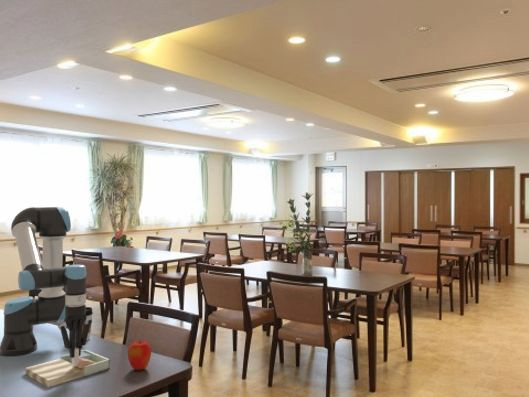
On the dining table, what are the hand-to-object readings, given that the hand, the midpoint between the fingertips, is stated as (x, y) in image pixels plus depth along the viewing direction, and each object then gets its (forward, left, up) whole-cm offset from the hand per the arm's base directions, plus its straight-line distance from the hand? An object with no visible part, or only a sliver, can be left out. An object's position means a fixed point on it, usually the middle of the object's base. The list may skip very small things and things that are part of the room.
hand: (75, 364), depth 180 cm
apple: (+15, +19, -4) cm, 25 cm away
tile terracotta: (0, +3, -2) cm, 4 cm away
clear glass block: (-10, +7, -3) cm, 13 cm away
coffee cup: (-39, +25, -4) cm, 46 cm away
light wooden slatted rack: (-5, -6, -4) cm, 8 cm away
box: (-5, +7, -4) cm, 9 cm away
